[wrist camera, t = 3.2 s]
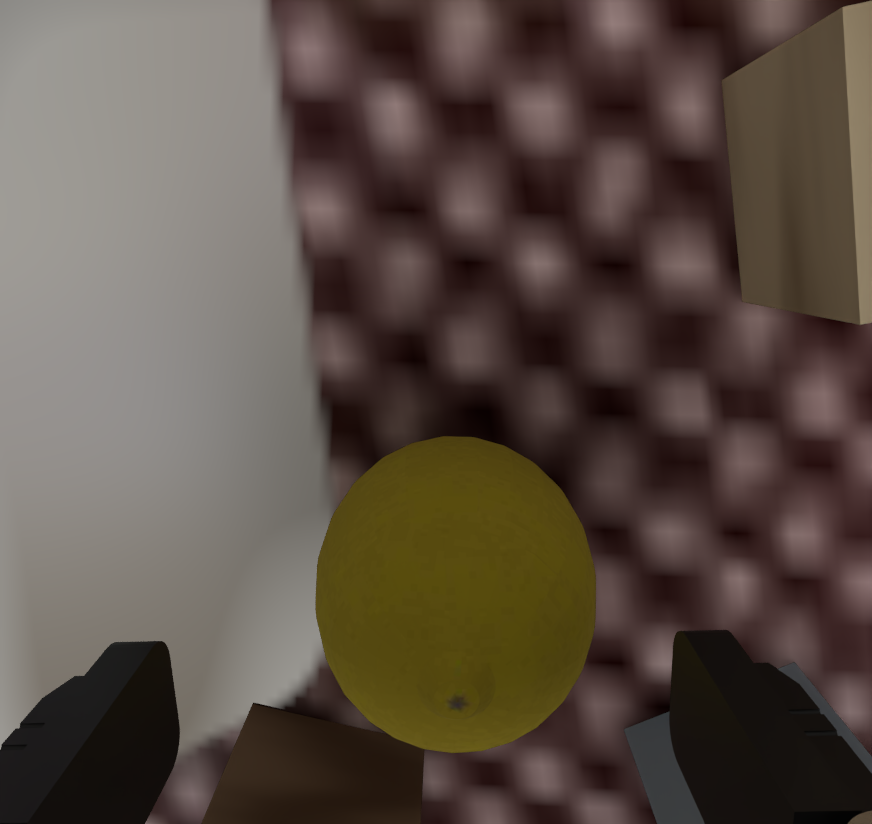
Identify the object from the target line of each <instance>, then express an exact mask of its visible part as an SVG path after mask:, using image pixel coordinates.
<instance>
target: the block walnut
mask: <svg viewBox="0 0 872 824" xmlns="http://www.w3.org/2000/svg"><path fill="white" fill-rule="evenodd" d="M272 708H273V707H271V706H267V705H262V704H258V703H253V704H252V707H251V709H250V711H249V714H248V716H247V718H246V721H245V723H244V725H243V728H242V730H241V732H240V735H239V737H238V739H237V742H236V744H235V746H234V749H233V751H232V753H231V756H230V758H229V760H228V763H227V765H226V767H225V770H224V772H223V774H222V777H221V779H220V781H219V784H218V786H217V788H216V791H215V793H214V795H213V798H212V800H211V802H210V805H209V807H208V809H207V812H206V814H205V816H204V819H203V821H202V823H201V824H420V823H421V804H422V784H423V764H424V749H422V748H419V747H417V746H414V745H411V744H409V743H406V742H403V741H401V740H398V739H396V738H394V737H392V736H391V735H388V734H383V733H379V732H374V731H370V730H365V729H361V728H357V727H352V726H348V725H343V724H339V723H334V722H330V721H325V720H321V719H317V718H312V717H308V716H303V715H299V714H294V713H290V712H286V711H281V710H277V709H272Z"/></svg>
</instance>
